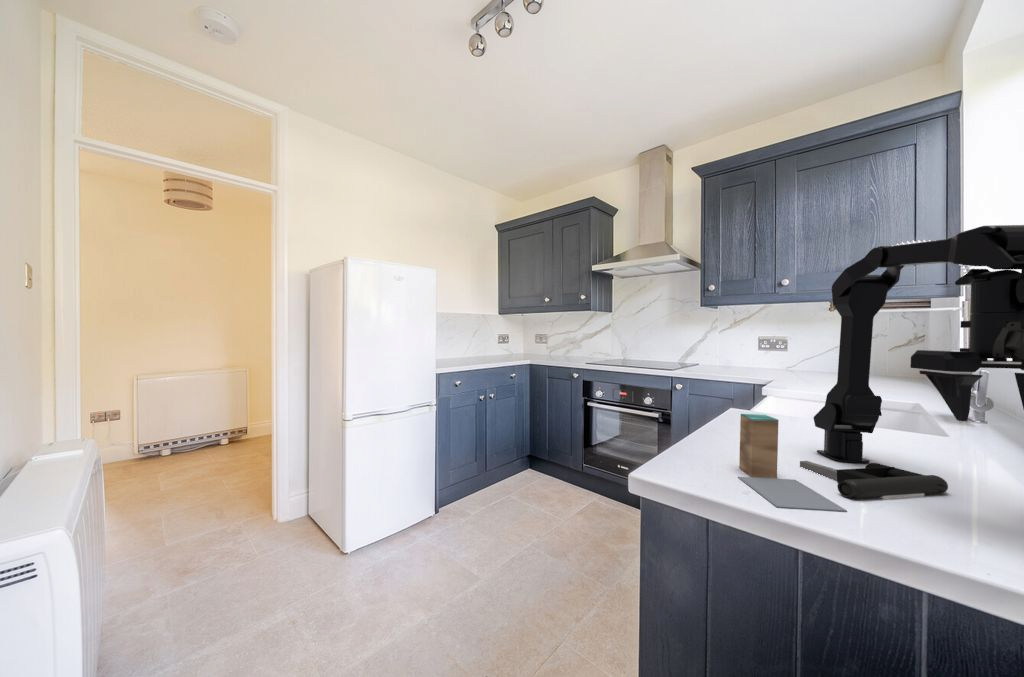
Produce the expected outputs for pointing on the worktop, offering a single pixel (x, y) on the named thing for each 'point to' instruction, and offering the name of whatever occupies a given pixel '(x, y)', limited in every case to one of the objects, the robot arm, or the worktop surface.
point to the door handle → (880, 481)
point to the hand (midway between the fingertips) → (997, 422)
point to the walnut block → (758, 445)
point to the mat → (790, 494)
